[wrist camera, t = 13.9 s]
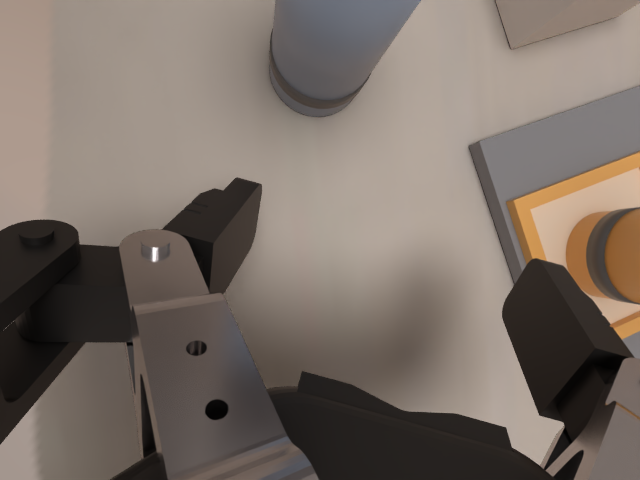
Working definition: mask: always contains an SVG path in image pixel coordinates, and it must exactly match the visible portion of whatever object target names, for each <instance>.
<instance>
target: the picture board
mask: <svg viewBox="0 0 640 480" xmlns="http://www.w3.org/2000/svg"><path fill="white" fill-rule="evenodd" d="M469 148H470V151H471V154H472V157H473V160H474V163H475V166H476V169H477V172H478V175H479V178H480V181H481V184H482V187H483V190H484V193H485V196H486V199H487V202H488V205H489V208H490V211H491V214H492V217H493V220H494V223H495V226H496V229H497V232H498V235H499V238H500V241H501V244H502V247H503V250H504V253H505V256H506V259H507V262H508V265H509V268H510V271H511V274H512V277H513V280H514V283H516V281H517V280H518V278H519V276H520V275H521V273H522V272H523V270H524V268H525V267H526V265H527V264H528V262H529V261H530V260H532V259H534V258H537V259H541V260H545V261H548V262H552V263H556V264H560V265H563V266H564V267H565V268H566V269H567V271H568V267H567V263H566V246H567V241H568V238H569V236H570V234H571V232H572V230H573V228H574V227H575V226H576V224H577V223H578V222H579V221H580V220H581V219H583V218H584V217H586V216H588V215H590V214H593V213H597V212H606V211H615V210H618V209H625V208H636V207H640V86H638V87H635V88H632V89H629V90H626V91H623V92H620V93H618V94H615V95H612V96H609V97H606V98H603V99H600V100H597V101H594V102H592V103H589V104H586V105H583V106H580V107H577V108H574V109H571V110H569V111H566V112H563V113H560V114H557V115H554V116H551V117H548V118H545V119H543V120H540V121H537V122H534V123H531V124H528V125H525V126H522V127H520V128H517V129H514V130H511V131H508V132H505V133H502V134H499V135H496V136H494V137H491V138H488V139H485V140H482V141H479V142H477V143H475V144H472V145H470V146H469ZM568 272H569V271H568ZM582 291H583V290H582ZM583 292H584V291H583ZM584 293H585V294H586V295H588V296H589V297H590V298H591V299H592V300H593V301H594V302H595V304H596V305H597V306H598V308H599V309H600V311H601V312H602V315H603V316H605V317H606V319H607V320H608V321H609V323H610V324H611V325H610V327H613V328H614V330H615V331H616V332H617V334H618V335H619V337H620V338H621V339H622V341H623V342H624V343H625V345H626V346H627V348H628V349H629V350H630V352H631V353H632V354H633V356H634V357H635V358H639V359H640V305H638V304H632V303H626V302H620V301H616V300H613V299H608V298H602V297H596V296H592V295H590V294H587V293H586V292H584Z"/></svg>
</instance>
